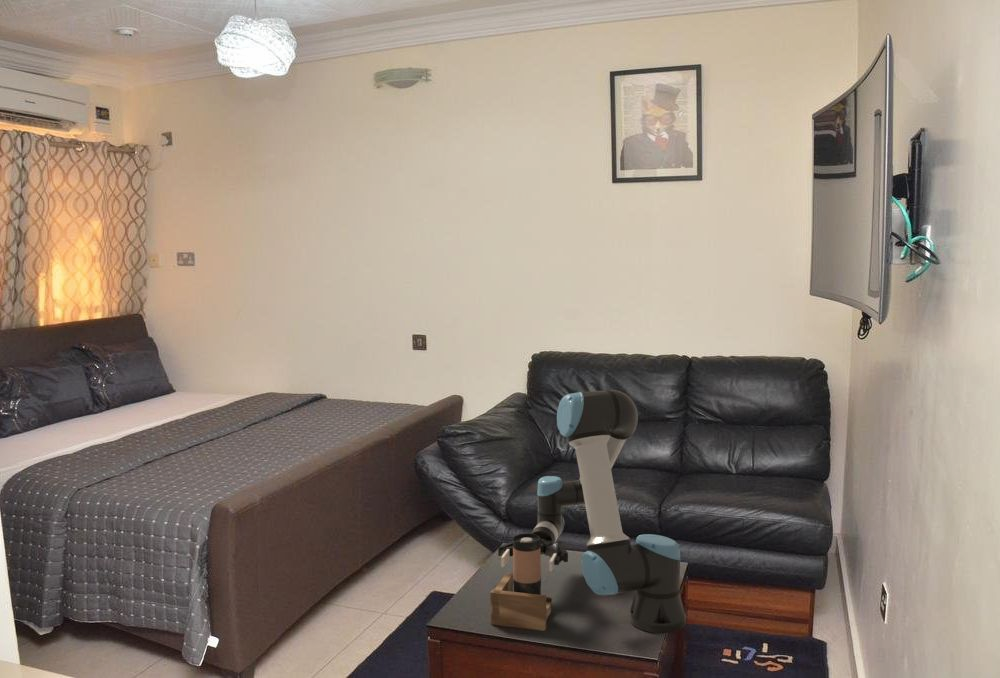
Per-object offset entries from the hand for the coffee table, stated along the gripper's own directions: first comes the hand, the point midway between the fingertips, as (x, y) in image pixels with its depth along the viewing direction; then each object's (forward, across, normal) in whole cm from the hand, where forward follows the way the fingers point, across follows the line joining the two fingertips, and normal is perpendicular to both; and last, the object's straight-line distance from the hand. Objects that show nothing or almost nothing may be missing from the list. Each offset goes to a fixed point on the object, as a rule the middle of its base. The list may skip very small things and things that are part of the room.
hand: (526, 564), depth 228 cm
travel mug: (0, 0, -13) cm, 13 cm away
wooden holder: (0, 0, -15) cm, 15 cm away
